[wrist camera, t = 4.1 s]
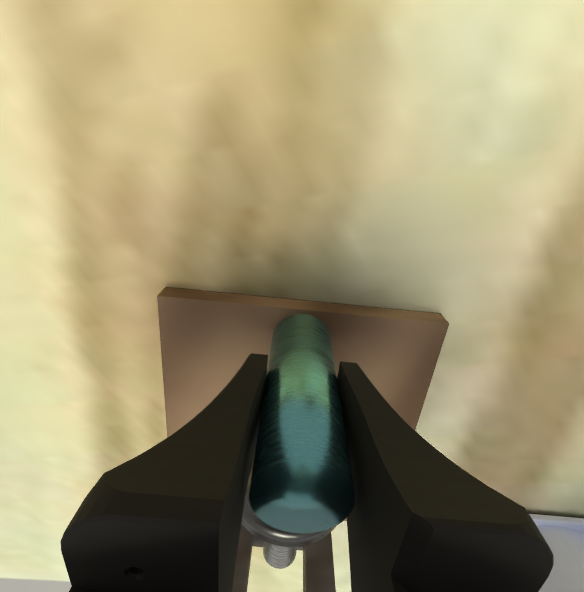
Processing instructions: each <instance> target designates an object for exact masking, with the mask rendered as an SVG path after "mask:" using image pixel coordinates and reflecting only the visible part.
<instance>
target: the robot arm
mask: <svg viewBox="0 0 584 592" xmlns="http://www.w3.org/2000/svg"><path fill="white" fill-rule="evenodd" d="M267 362H268V355H264V354H253V353H251V354H250V355H249V356H248V357H247V359H246V360H245V362H244V363H243V365H242V366H241V368H240V369H239V370H238V372H237V373H236V374H235V376H234V377H233V378H232V379H231V381H230V382H229V383H228V384H227V385H226V387H225V388H224V389H223V390H222V391H221V392H220V393H219V394H218V395H217V396H216V397H215V398H214V399H213V400H212V401H211V402H210V403H209V404H208V405H207V406H206V407H205V408H204V409H203V410H202V411H201V412H200V413H199V414H197V415H196V416H195V417H194V418H193V419H192V420H190V421H189V422H188V423H187V424H185V425H184V426H183V427H181V428H180V429H179V430H178V431H176V432H175V433H173V434H172V435H171V436H169V437H168V438H166V439H165V440H163V441H162V442H160V443H158V444H157V445H155V446H154V447H152V448H151V449H149V450H147V451H146V452H144V453H142V454H140V455H139V456H137V457H135V458H133V459H131V460H129V461H127V462H125V463H123V464H121V465H119V466H117V467H116V468H114V469H112V470H109V471H107V472H105V473H104V474H103V475H102V476H101V478H100V479H99V480H98V482H97V483H96V484H95V486H94V487H93V488H92V490H91V491H90V492H89V494H88V495H87V496H86V498H85V499H84V501H83V502H82V504H81V506H80V507H79V509H78V511H77V512H76V514H75V515H74V517H73V519H72V520H71V522H70V524H69V525H68V527H67V529H66V530H65V532H64V534H63V537H62V539H61V551H62V555H63V558H64V561H65V565H66V568H67V572H68V575H69V578H70V582H71V585H72V587H71V589H70V591H69V592H232V587H233V580H234V573H235V565H236V558H237V551H238V544H239V537H240V530H241V522H242V516H243V509H244V502H245V495H246V490H247V485H248V480H249V476H250V471H251V467H252V463H253V459H254V455H255V450H256V443H257V437H258V430H259V423H260V416H261V409H262V403H263V396H264V389H265V383H266V375H267ZM337 382H338V388H339V395H340V401H341V407H342V414H343V420H344V427H345V433H346V440H347V446H348V453H349V459H350V466H351V472H352V479H353V485H354V491H355V504H354V507H353V510H352V511H351V513H350V514H349V516H348V517H347V527H348V541H349V556H350V571H351V590H352V592H584V518H573V517H562V516H550V515H538V514H529V513H528V512H527V511H526V509H525V508H524V507H522V506H521V505H519V504H517V503H515V502H514V501H512V500H510V499H509V498H507V497H505V496H504V495H502V494H500V493H498V492H497V491H495V490H493V489H492V488H490V487H488V486H487V485H485V484H484V483H482V482H481V481H479V480H478V479H476V478H475V477H473V476H472V475H470V474H469V473H467V472H466V471H464V470H463V469H461V468H460V467H459V466H457V465H456V464H455V463H453V462H452V461H450V460H449V459H448V458H447V457H445V456H444V455H443V454H442V453H440V452H439V451H438V450H436V449H435V448H434V447H433V446H432V445H430V444H429V443H428V442H427V441H426V440H424V439H423V438H422V437H421V436H420V435H419V434H418V433H417V432H416V431H415V430H414V429H412V428H411V427H410V426H409V425H408V424H407V423H406V422H405V421H404V420H403V419H402V418H401V417H400V416H399V414H398V413H397V412H396V411H395V410H394V409H393V408H392V407H391V406H390V405H389V404H388V402H387V401H386V400H385V399H384V398H383V396H382V395H381V394H380V393H379V391H378V390H377V389H376V388H375V386H374V385H373V384H372V382H371V381H370V380H369V378H368V377H367V376H366V374H365V373H364V372H363V370H362V369H361V368H360V366H359V365H358V364H357V363H352V362H341V361H340V365H339V370H338V376H337Z"/></svg>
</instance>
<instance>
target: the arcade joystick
mask: <svg viewBox="0 0 584 592" xmlns="http://www.w3.org/2000/svg"><path fill="white" fill-rule="evenodd" d="M354 504H355V491H354V485H353V479H352V472H351V466H350V459H349V453H348V446H347V440H346V433H345V427H344V420H343V414H342V407H341V401H340V395H339V388H338V382H337V375H336V369H335V362H334V356H333V349H332V343H331V336H330V332H329V330H328V328H327V326H326V325H325V324H324V323H323V322H322V321H321V320H320V319H318V318H317V317H315V316H312V315H309V314H294V315H291V316H288V317H286V318H284V319H283V320H281V321H280V322H279V323H278V324H277V326H276V327H275V329H274V331H273V335H272V342H271V349H270V355H269V362H268V369H267V376H266V383H265V389H264V396H263V403H262V409H261V416H260V423H259V430H258V437H257V443H256V450H255V455H254V459H253V463H252V467H251V471H250V476H249V480H248V485H247V490H246V495H245V502H244V509H243V516H242V522H241V524H242V525H243V526H244V527H245V528H246V529H247V530H248V531H249V532H250V533H251V534H253V535H254V536H256V537H257V538H259V539H260V540H263V541H264V545H263V554H264V557H265V560H266V561H267V562H268V564H269V565H271V566H272V567H274V568H279V569H281V568H285V567H288V566H289V565H290V564H291V563H292V562H293V561H294V559H295V556H296V550H297V547H300V546H306V545H309V544H312V543H315V542H317V541H319V540H321V539H322V538H324V537H325V536H327V535H328V534H329V533H330V532H331V531H332V530H333V529H334V528H335V527H336V526H337V525H338V524H340V523H341V522H342V521H344V520H345V519H346V518H347V517H348V516H349V514H350V513H351V511H352V510H353V507H354Z"/></svg>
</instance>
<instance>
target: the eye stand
mask: <svg viewBox="0 0 584 592" xmlns="http://www.w3.org/2000/svg"><path fill="white" fill-rule="evenodd" d="M157 298H158V312H159V326H160V340H161V354H162V368H163V382H164V395H165V409H166V423H167V437H169V436H171V435H172V434H173V433H175V432H176V431H178V430H179V429H180V428H181V427H183V426H184V425H185V424H187V423H188V422H189V421H190V420H192V419H193V418H194V417H195V416H196V415H197V414H199V413H200V412H201V411H202V410H203V409H204V408H205V407H206V406H207V405H208V404H209V403H210V402H211V401H212V400H213V399H214V398H215V397H216V396H217V395H218V394H219V393H220V392H221V391H222V390H223V389H224V388H225V387H226V385H227V384H228V383H229V382H230V381H231V379H232V378H233V377H234V376H235V374H236V373H237V372H238V370H239V369H240V368H241V366H242V365H243V363H244V362H245V360H246V359H247V357H248V356H249V355H250V354H251V353H253V354H264V355H268V362H269V355H270V349H271V342H272V335H273V331H274V329H275V327H276V326H277V324H278V323H279V322H280V321H281V320H283V319H284V318H286V317H288V316H291V315H294V314H309V315H312V316H315V317H317V318H318V319H320V320H321V321H322V322H323V323H324V324H325V325H326V326H327V328H328V330H329V332H330V336H331V343H332V349H333V356H334V362H335V369H336V375H337V376H338V370H339V365H340V361H341V362H352V363H357V364H358V365H359V366H360V368H361V369H362V370H363V372H364V373H365V374H366V376H367V377H368V378H369V380H370V381H371V382H372V384H373V385H374V386H375V388H376V389H377V390H378V391H379V393H380V394H381V395H382V396H383V398H384V399H385V400H386V401H387V402H388V404H389V405H390V406H391V407H392V408H393V409H394V410H395V411H396V412H397V413H398V414H399V416H400V417H401V418H402V419H403V420H404V421H405V422H406V423H407V424H408V425H409V426H410V427H411V428H412V429H414V430H415V429H416V426H417V422H418V419H419V416H420V413H421V410H422V407H423V404H424V400H425V397H426V394H427V391H428V388H429V385H430V382H431V379H432V375H433V372H434V369H435V366H436V363H437V360H438V357H439V354H440V350H441V347H442V344H443V341H444V338H445V335H446V332H447V328H448V325H449V323H448V322H447V321H446V319H445V318H444V317H443V316H442V315H441V314H440V313H430V312H419V311H409V310H398V309H388V308H378V307H367V306H357V305H346V304H336V303H325V302H315V301H304V300H294V299H283V298H273V297H263V296H252V295H242V294H231V293H221V292H210V291H200V290H189V289H179V288H168V287H165V288H164V289H163V290H162V292H161V293H160V294H159V295H158V296H157ZM268 362H267V369H268ZM266 376H267V375H266ZM344 521H347V518H346V519H345V520H344ZM263 545H264V541H263V540H260V539H259V538H257V537H256V536H254V535H253V534H251V533H250V532H249V531H248V530H247V529H246V528H245V527H244V526H243V525H242V524H241V530H240V537H239V544H238V551H237V558H236V565H235V573H234V580H233V587H232V592H247V585H248V577H249V569H250V560H251V552H252V546H256V547H263ZM297 550H303V592H336V590H335V577H334V565H333V552H332V539H331V532H330V533H329V534H328V535H327V536H325V537H324V538H322V539H321V540H319V541H317V542H315V543H312V544H309V545H306V546H300V547H297Z"/></svg>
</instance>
